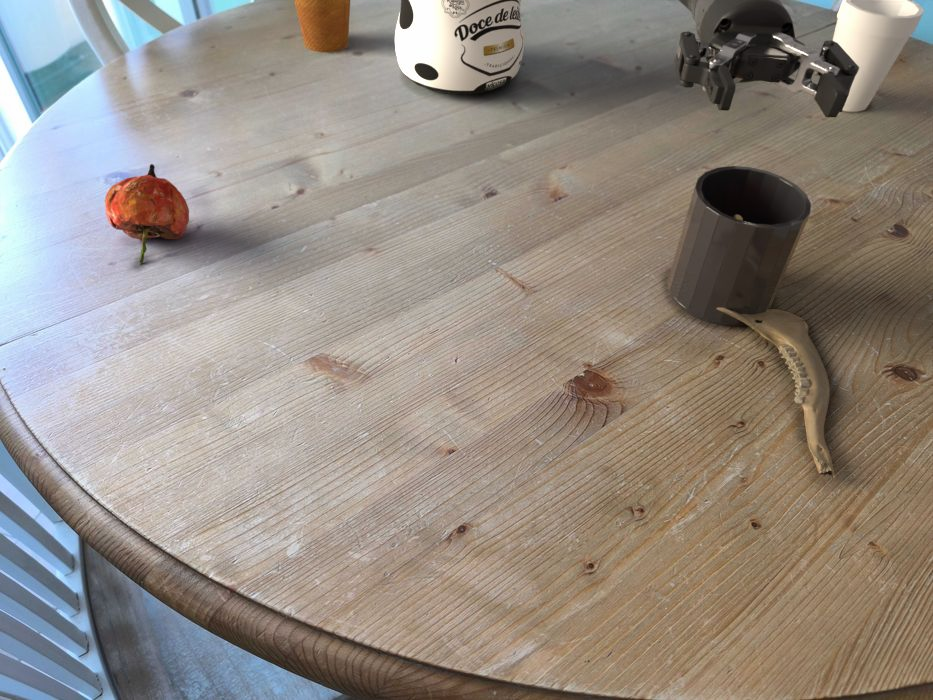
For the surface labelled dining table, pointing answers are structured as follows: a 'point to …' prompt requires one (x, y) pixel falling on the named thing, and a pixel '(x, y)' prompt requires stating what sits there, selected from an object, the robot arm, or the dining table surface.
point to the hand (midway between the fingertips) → (782, 103)
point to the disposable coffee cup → (324, 24)
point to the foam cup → (873, 41)
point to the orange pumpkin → (147, 208)
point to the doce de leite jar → (460, 43)
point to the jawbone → (799, 373)
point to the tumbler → (736, 243)
